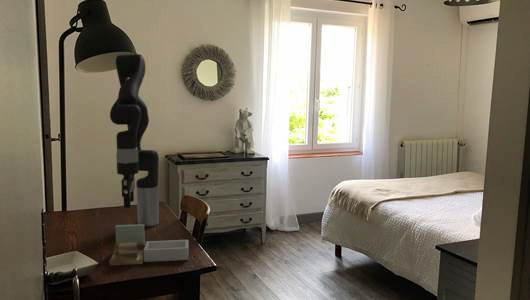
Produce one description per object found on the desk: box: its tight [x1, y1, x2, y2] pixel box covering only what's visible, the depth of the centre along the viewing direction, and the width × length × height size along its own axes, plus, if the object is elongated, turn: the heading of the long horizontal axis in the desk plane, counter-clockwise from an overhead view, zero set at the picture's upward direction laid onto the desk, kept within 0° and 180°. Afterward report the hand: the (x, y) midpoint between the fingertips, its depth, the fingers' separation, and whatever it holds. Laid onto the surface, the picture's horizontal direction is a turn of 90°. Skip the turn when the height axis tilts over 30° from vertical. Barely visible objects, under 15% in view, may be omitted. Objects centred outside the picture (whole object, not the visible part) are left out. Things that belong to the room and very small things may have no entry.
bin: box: [143, 239, 190, 263], centre depth 170 cm, size 9×15×4 cm, turn 98°
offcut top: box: [119, 242, 137, 254], centre depth 163 cm, size 4×6×2 cm, turn 106°
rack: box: [108, 241, 147, 266], centre depth 168 cm, size 14×11×4 cm
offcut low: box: [115, 249, 138, 261], centre depth 163 cm, size 4×7×2 cm, turn 98°
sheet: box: [114, 223, 146, 245], centre depth 172 cm, size 2×10×9 cm, turn 98°
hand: (129, 204), depth 171 cm, fingers open, 8 cm apart
